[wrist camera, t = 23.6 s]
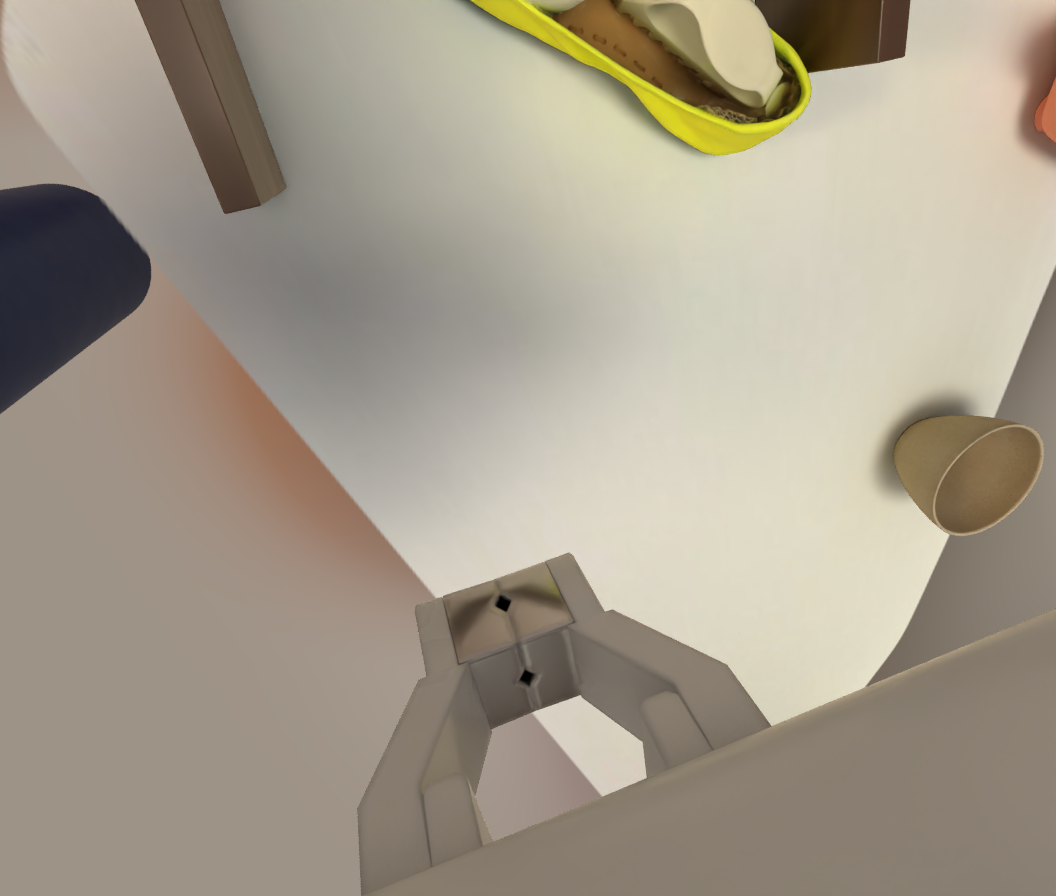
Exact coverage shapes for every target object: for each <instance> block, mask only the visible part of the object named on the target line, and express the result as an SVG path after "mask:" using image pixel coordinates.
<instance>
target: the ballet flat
mask: <svg viewBox="0 0 1056 896" xmlns="http://www.w3.org/2000/svg"><path fill="white" fill-rule="evenodd" d="M470 1H472V2H473V3H475V4H476V5H478V6H479V7H481V8H482V9H484V10H485V11H487V12H489V13H490V14H492V15H493V16H495V17H497V18H498V19H500V20H502V21H504V22H506V23H508V24H510V25H511V26H513V27H515V28H518V29H520V30H523V31H525V32H528V33H530V34H531V35H533V36H535V37H537V38H539V39H540V40H542V41H543V42H545V43H547V44H549V45H551V46H553V47H555V48H557V49H559V50H561V51H563V52H565V53H567V54H569V55H571V56H572V57H574V58H575V59H577V60H578V61H580V62H582V63H584V64H587V65H590V66H593V67H595V68H597V69H600V70H602V71H604V72H606V73H608V74H610V75H611V76H613V77H615V78H616V79H618V80H619V81H621V82H622V83H624V84H626V85H627V86H628V87H630V89H631V90H632V91H633V92H634V94H635V95H636V96H637V97H638V98H639V99H640V100H641V102H642V103H643V104H644V106H645V107H646V108H647V109H648V110H649V112H650V113H651V114H652V115H653V116H654V117H655V118H656V119H657V120H658V121H659V122H660V123H661V124H662V125H663V126H664V127H665V128H666V129H667V130H668V131H670V132H671V133H672V134H674V135H675V136H677V137H678V138H680V139H681V140H683V141H685V142H686V143H688V144H689V145H691V146H693V147H694V148H696V149H698V150H700V151H701V152H704V153H707V154H713V155H728V154H733V153H737V152H741V151H745V150H747V149H749V148H751V147H753V146H755V145H757V144H759V143H760V142H762V141H764V140H766V139H768V138H770V137H772V136H774V135H776V134H778V133H779V132H781V131H782V130H783V129H785V128H786V127H787V126H788V125H789V124H791V123H792V122H793V121H794V120H796V119H797V118H798V117H799V116H800V115H801V114H802V112H803V111H804V109H805V108H806V106H807V105H808V103H809V100H810V97H811V82H810V79H809V75H808V73H807V70H806V68H805V66H804V64H803V63H802V61H801V59H800V57H799V55H798V54H797V52H796V51H795V50H794V48H793V47H792V46H791V45H790V44H788V43H787V42H786V41H785V40H784V39H782V38H781V37H780V36H779V35H777V34H776V33H775V32H774V31H773V30H772V29H771V28H769V27H768V24H767V22H766V20H765V18H764V16H763V15H762V13H761V11H760V10H759V9H758V7H757V6H756V5H755V4H754V3H753V2H752V1H751V0H470Z"/></svg>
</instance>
